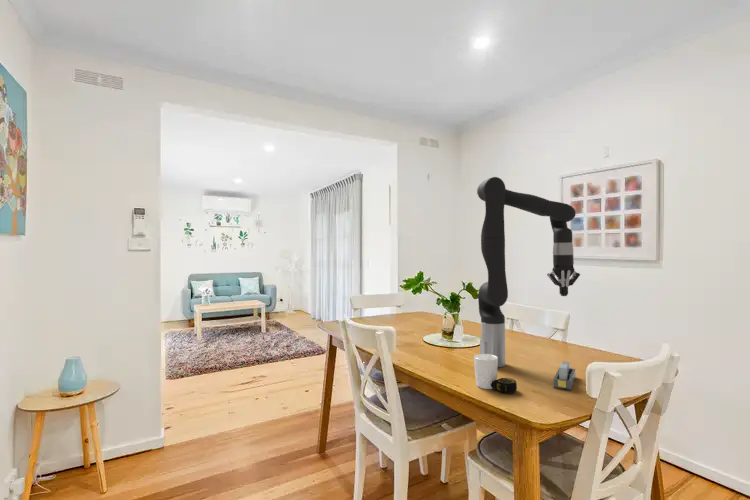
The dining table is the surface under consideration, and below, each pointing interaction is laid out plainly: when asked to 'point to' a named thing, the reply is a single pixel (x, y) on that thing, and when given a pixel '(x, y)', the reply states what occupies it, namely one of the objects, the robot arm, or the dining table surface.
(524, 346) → the dining table surface
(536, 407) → the dining table surface
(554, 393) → the dining table surface
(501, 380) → the tape measure
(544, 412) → the dining table surface
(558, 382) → the box
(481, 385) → the white cup
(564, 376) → the panel
